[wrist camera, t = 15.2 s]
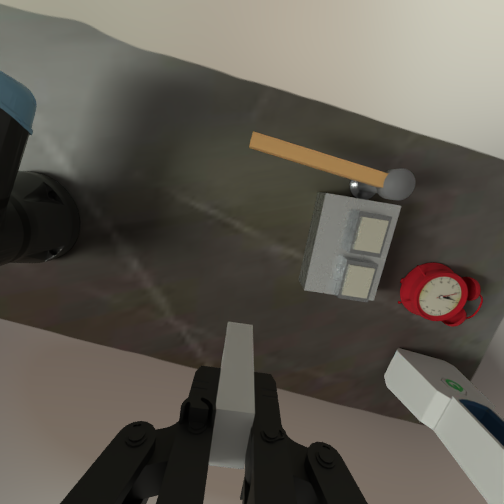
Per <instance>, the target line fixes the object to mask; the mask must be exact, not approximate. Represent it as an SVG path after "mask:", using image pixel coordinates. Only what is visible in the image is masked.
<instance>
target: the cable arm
mask: <svg viewBox="0 0 504 504" xmlns="http://www.w3.org/2000/svg"><path fill="white" fill-rule="evenodd" d="M249 148H251V149H254V150H257V151H261V152H264V153H267V154H270V155H274V156H277V157H280V158H283V159H287V160H290V161H293V162H296V163H300V164H303V165H306V166H309V167H313V168H316V169H319V170H322V171H326V172H329V173H332V174H335V175H339V176H342V177H345V178H348V179H352V180H355V181H358V188H359V190H360V191H361V192H367V193H378V194H379V195H380V196H381V197H382V198H384V199H390V200H403V199H405V198H407V197H408V196H410V195H411V193H412V192H413V190H414V188H415V177H414V175H413V173H412V172H411V171H409V170H407V169H403V168H402V169H391V170H387V171H385V172H382V171H378V170H375V169H372V168H369V167H366V166H362V165H359V164H356V163H353V162H350V161H346V160H343V159H340V158H337V157H334V156H330V155H327V154H324V153H321V152H318V151H314V150H311V149H308V148H305V147H302V146H299V145H295V144H292V143H289V142H286V141H283V140H279V139H276V138H273V137H270V136H267V135H263V134H260V133H257V132H254V131H253V134H252V138H251V141H250V145H249Z"/></svg>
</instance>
